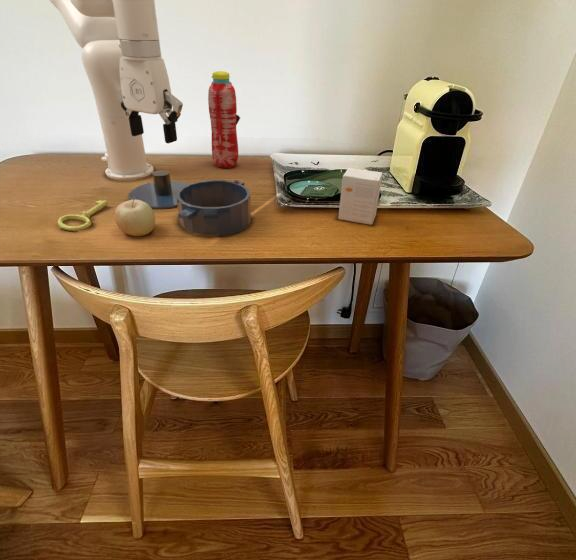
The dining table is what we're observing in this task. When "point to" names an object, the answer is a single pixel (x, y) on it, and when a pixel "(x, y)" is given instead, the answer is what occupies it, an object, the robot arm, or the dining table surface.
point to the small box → (359, 195)
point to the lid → (158, 191)
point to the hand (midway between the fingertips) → (154, 138)
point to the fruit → (135, 217)
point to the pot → (214, 218)
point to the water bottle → (223, 120)
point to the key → (82, 217)
